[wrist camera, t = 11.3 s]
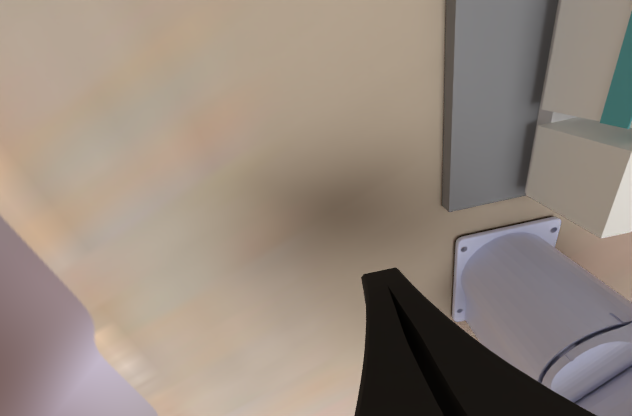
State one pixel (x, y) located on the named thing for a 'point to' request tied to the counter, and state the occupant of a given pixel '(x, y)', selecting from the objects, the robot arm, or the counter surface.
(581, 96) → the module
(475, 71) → the mounting plate
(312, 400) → the counter surface
